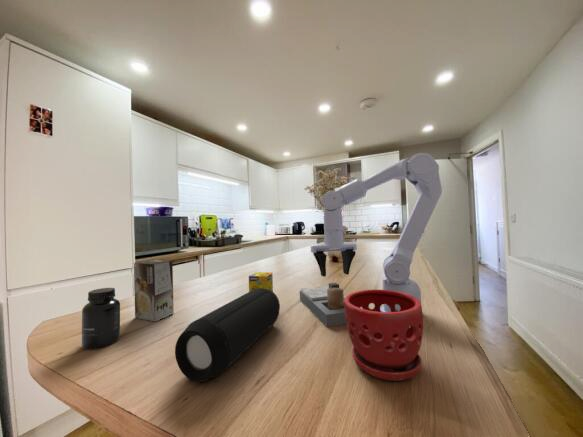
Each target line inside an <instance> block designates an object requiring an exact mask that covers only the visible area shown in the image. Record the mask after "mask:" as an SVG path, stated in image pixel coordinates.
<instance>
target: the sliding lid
mask: <svg viewBox="0 0 583 437" xmlns="http://www.w3.org/2000/svg"><path fill="white" fill-rule="evenodd" d="M329 288H340V284H339V283H336V282H331V283H328V285H323V286H315V287H314V286H313V287H305V288H300V291H301V292H302V293H304V294H305V295H306V296H307V297H308V298H309V299H310V300H311V301H314V300H322V299H328V298H327V289H329Z"/></svg>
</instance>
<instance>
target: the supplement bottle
mask: <svg viewBox="0 0 583 437" xmlns="http://www.w3.org/2000/svg"><path fill="white" fill-rule="evenodd" d="M115 297H116V289H115V288H114V287H102V288H96V289H93V290H90V291H88V293H87V303H86V304H85V305H84V306H83V307H82V309H81V347H82V349H84V350H88V351H89V350H99V349H103V348H105V347H108V346H111V345H112V344H114V343H116V342H118V340H119V339H120V337H121V302H120V300H118V299H116V298H115Z"/></svg>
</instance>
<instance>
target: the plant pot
mask: <svg viewBox="0 0 583 437" xmlns="http://www.w3.org/2000/svg"><path fill="white" fill-rule="evenodd" d="M344 298H345V299H344V309H345V319H346V324H345V325H346V327H347V331H348V332H347V333H348V336H349V339H350V341H351V344H352V345H353V347H352V350H351V353H352V358H353V360H354V361H355V363H356V364H357V366H359V367H360V369H362V370H363V371H364V372H366V373H367V374H369V375H371V376H373V377H375V378H378V379H382V380H387V381H395V382H397V381H404V380H408V379H411V378H413V377H414V376H416V375H417V374H418V373H419V372H420V370H421V368H422V362H423V361H422V358H421V356H420V354H419V352H420V349H421V346H422V343H423V332H424V324H423V323H424V315H423V313H424V312H423V306H422V302H421V303H420V301H419V300H418V299H417V298H415V297H413V296H411V295H409V294H405V293H402V292H397V291H391V290H383V289H377V288H376V289H365V290H364V289H362V290H357V291H354V292H352V293H349V294H347V295H346V296H345V297H344ZM371 304H373V306H374V307H373V308H370V307H369V306H370V305H371ZM383 304H386V305H388V306H389V307H390V309H391V312H381V310H380V307H382V305H383ZM396 304H398V305H399V306H400V308H401V309H400V311H397V310H396V309H395V305H396Z"/></svg>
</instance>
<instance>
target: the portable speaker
mask: <svg viewBox="0 0 583 437" xmlns="http://www.w3.org/2000/svg"><path fill="white" fill-rule="evenodd" d="M280 309H281V304H280V299H279V298H278V296H277V294H276V293H275V292H274V291H273V292H272V291H271V290H268V289H264V288H256V289H254V290H252V291H250V292H249V291H248V292H246V293H244V294H243V295H240V296H239V297H237V298H235V299H233V300H231V301H230V302H227V303H225V304H223V305H222V306H220V307H218V308H216V309H214V310H212V311H211V312H209V313H207V314H205V315H203V316H201V317H199V318H198V319H195V320H194V321H192V322H191V323H189V324H188V326H187V327H185V329H184V330H183V332H182V333H181V334H180V335H179V336H178V337H177V338H178V339H177V340H176V342H175V347H174V354H175V355H174V356H175V360H176V364H177V366H178V368H179V370H180V371H181V373H182V374H183V376H184V377H186V378H187V379H188V380H190V381H192V382H195V383H200V382H204V381H208V380H211V379H214V378H216V377H218V376H220V375H221V374H222V372H224V371H225V370H227V368H228V367H230V366H231V365H232V364H233V363H234V362H235V361H236V360H238V358H239V357H240V356H241V355H242V354H243V353H245V351H247V349H248V348H250V347H251V345H252V344H254V343H255V342H256V341H257V340H259V338H261V336H263V334H264V333H265V332H267V331H268V330H269V329H270V328H271V327H272V326H273V325H274V324H275V323H276V321H278V320H277V319H278V318H279V314H280Z"/></svg>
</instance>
